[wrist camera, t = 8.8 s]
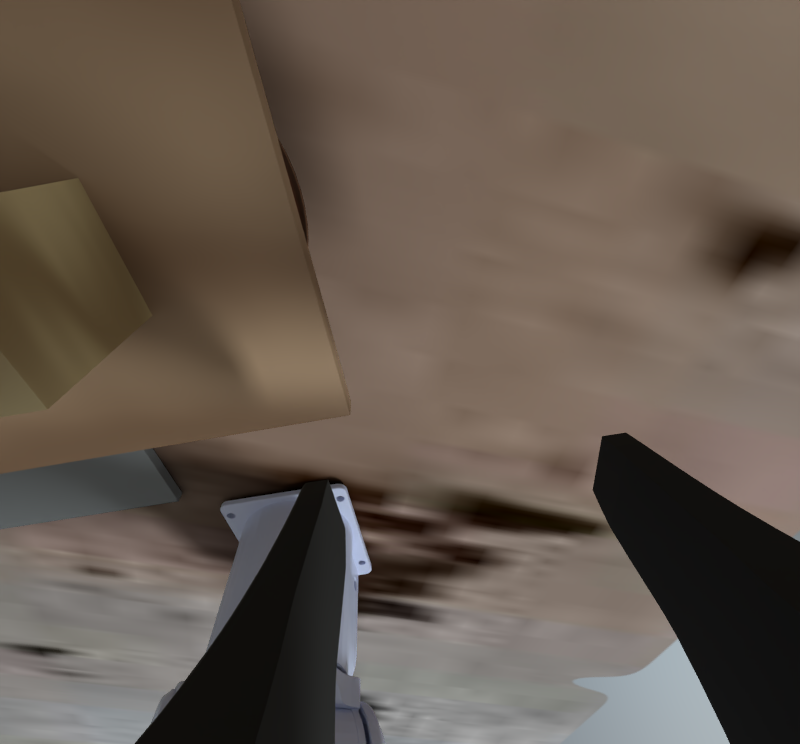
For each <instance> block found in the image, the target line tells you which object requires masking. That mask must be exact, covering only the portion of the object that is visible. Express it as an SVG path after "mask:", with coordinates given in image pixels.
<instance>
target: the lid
mask: <svg viewBox="0 0 800 744" xmlns="http://www.w3.org/2000/svg"><path fill="white" fill-rule="evenodd" d="M350 408H351V400H350V396H349V393H348V389H347V386H346V382H345V378H344V375H343V371H342V368H341V364H340V360H339V357H338V353H337V350H336V346H335V342H334V339H333V335H332V332H331V328H330V325H329V321H328V317H327V314H326V310H325V307H324V303H323V299H322V296H321V292H320V289H319V285H318V281H317V278H316V274H315V271H314V267H313V264H312V260H311V256H310V253H309V249H308V246H307V242H306V238H305V235H304V231H303V228H302V224H301V220H300V217H299V213H298V210H297V206H296V202H295V199H294V195H293V192H292V188H291V185H290V181H289V177H288V174H287V170H286V167H285V163H284V159H283V156H282V152H281V149H280V145H279V141H278V138H277V134H276V131H275V127H274V124H273V120H272V116H271V113H270V109H269V106H268V102H267V98H266V95H265V91H264V88H263V84H262V80H261V77H260V73H259V70H258V66H257V63H256V59H255V55H254V52H253V48H252V45H251V41H250V37H249V34H248V30H247V27H246V23H245V19H244V16H243V12H242V9H241V5H240V1H239V0H0V474H3V473H9V472H14V471H20V470H26V469H32V468H38V467H44V466H50V465H56V464H62V463H68V462H74V461H80V460H86V459H92V458H98V457H104V456H110V455H115V454H121V453H127V452H133V451H139V450H145V449H151V448H157V447H163V446H169V445H175V444H181V443H187V442H193V441H199V440H205V439H211V438H216V437H222V436H228V435H234V434H240V433H246V432H252V431H258V430H264V429H270V428H276V427H282V426H288V425H294V424H300V423H306V422H312V421H317V420H323V419H329V418H335V417H341V416H347V415H350Z"/></svg>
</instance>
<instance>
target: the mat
mask: <svg viewBox="0 0 800 744" xmlns="http://www.w3.org/2000/svg"><path fill="white" fill-rule="evenodd" d="M181 495H182V492H181V491H180V489H179V488H178V486H177V485H176V483H175V482H174V480H173V479H172V477H171V475H170V474H169V472H168V471H167V469H166V468H165V466H164V465H163V463H162V462H161V460H160V459H159V457H158V456H157V454H156V453H155V451H154V450H153V448H151V449H145V450H139V451H133V452H127V453H121V454H115V455H110V456H104V457H98V458H92V459H86V460H80V461H74V462H68V463H62V464H56V465H50V466H44V467H38V468H32V469H26V470H20V471H14V472H9V473H3V474H0V529H5V528H11V527H18V526H24V525H30V524H37V523H43V522H49V521H56V520H62V519H69V518H75V517H81V516H88V515H94V514H100V513H107V512H113V511H119V510H126V509H132V508H139V507H145V506H151V505H158V504H164V503H170V502H177V501H179V499H180V497H181Z"/></svg>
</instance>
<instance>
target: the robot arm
mask: <svg viewBox="0 0 800 744" xmlns="http://www.w3.org/2000/svg"><path fill="white" fill-rule="evenodd" d="M593 491H594V494H595V496H596V498H597V500H598V503H599V505H600V507H601V509H602V511H603V513H604V515H605V517H606V520H607V522H608V524H609V526H610V528H611V529H612V531H613V533H614V534H615V536H616V538H617V539H618V541H619V542H620V544H621V546H622V547H623V549H624V551H625V552H626V554H627V555H628V557H629V559H630V560H631V562H632V563H633V565H634V567H635V568H636V570H637V571H638V573H639V575H640V576H641V578H642V579H643V581H644V583H645V584H646V586H647V587H648V589H649V590H650V592H651V594H652V595H653V597H654V598H655V600H656V602H657V603H658V605H659V606H660V608H661V610H662V611H663V613H664V615H665V616H666V618H667V620H668V621H669V623H670V625H671V627H672V628H673V630H674V632H675V634H676V635H677V637H678V639H679V641H680V643H681V645H682V647H683V649H684V651H685V653H686V655H687V657H688V659H689V661H690V663H691V665H692V667H693V668H694V670H695V672H696V674H697V676H698V678H699V680H700V682H701V684H702V686H703V688H704V690H705V692H706V694H707V697H708V699H709V701H710V703H711V705H712V707H713V709H714V711H715V713H716V715H717V717H718V719H719V721H720V723H721V725H722V727H723V729H724V732H725V734H726V736H727V738H728V740H729V742H730V744H800V542H799V541H797V540H795V539H794V538H792V537H790V536H788V535H787V534H785V533H783V532H781V531H779V530H778V529H776V528H774V527H772V526H771V525H769V524H767V523H766V522H764V521H762V520H761V519H759V518H757V517H756V516H754V515H752V514H750V513H749V512H747V511H745V510H744V509H742V508H740V507H739V506H737V505H735V504H734V503H732V502H731V501H729V500H727V499H726V498H724V497H722V496H721V495H719V494H718V493H716V492H715V491H713V490H711V489H710V488H708V487H707V486H705V485H704V484H702V483H701V482H699V481H697V480H696V479H694V478H693V477H691V476H690V475H688V474H687V473H685V472H684V471H682V470H681V469H679V468H678V467H676V466H675V465H673V464H672V463H670V462H669V461H667V460H666V459H664V458H663V457H661V456H660V455H658V454H657V453H656V452H654V451H653V450H651V449H650V448H648V447H647V446H645V445H644V444H642V443H641V442H639V441H638V440H636V439H635V438H633V437H632V436H630V435H629V434H627V433H621V434H614V435H608V436H602V440H601V446H600V452H599V457H598V463H597V469H596V474H595V480H594V486H593ZM339 496H342V497H339ZM220 511H221V513H222V515H223V516H224V518H225V520H226V521H227V523H228V525H229V526H230V528H231V530H232V531H233V533H234V535H235V536H236V538H237V540H238V541H239V545H238V548H237V551H236V555H235V558H234V561H233V565H232V568H231V571H230V574H229V578H228V581H227V584H226V588H225V591H224V594H223V597H222V601H221V604H220V607H219V611H218V614H217V617H216V621H215V624H214V627H213V630H212V634H211V637H210V640H209V644H208V647H207V650H206V653H205V655H204V656H203V657H202V659H201V660H200V661H199V663H198V664H197V665H196V667H195V668H194V669H193V671H192V672H191V673H190V675H189V676H188V677H187V679H186V680H185V681H181V682H179V683H178V684H177V686H176V687H175V689H172V690H171V691H170V692H168V693H167V694H166V695H164V696H163V697H162V699H161V701H160V703H159V705H158V707H157V710H156V712H155V714H154V717H153V719H152V722H151V724H150V726H149V727H148V728H147V729H146V731H145V732H144V733H143V734H142V735H141V737H140V738H139V739H138V740H137V741H136V743H135V744H385V740H384V736H383V733H382V730H381V728H380V726H379V723H378V720H377V717H376V715H375V713H374V711H373V709H372V708H371V706H370V705H368V704H367V703H365V702H361V701H360V678H358V677H353V673H354V669H355V665H356V657H357V612H358V575H362V574H367V573H369V572H370V571H371V563H370V560H369V556H368V553H367V550H366V547H365V544H364V541H363V538H362V535H361V531H360V528H359V525H358V522H357V519H356V516H355V513H354V510H353V506H352V503H351V500H350V497H349V494H348V491H347V488H346V486H345V485H343V484H332V485H330V483H329V480H322V481H315V482H309V483H305V484H304V485H303V487H302V489H300V490H294V491H288V492H281V493H275V494H268V495H262V496H256V497H249V498H243V499H237V500H230V501H225V502H223V503H222V505H221V508H220Z"/></svg>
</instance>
